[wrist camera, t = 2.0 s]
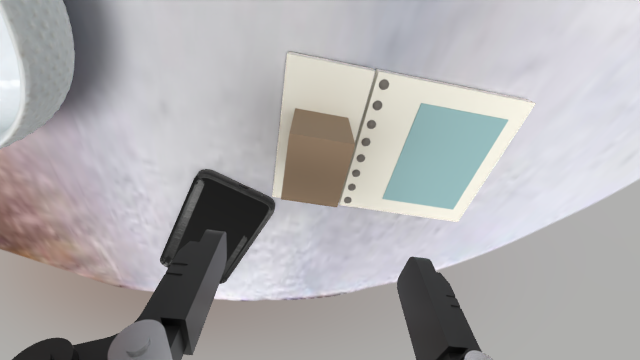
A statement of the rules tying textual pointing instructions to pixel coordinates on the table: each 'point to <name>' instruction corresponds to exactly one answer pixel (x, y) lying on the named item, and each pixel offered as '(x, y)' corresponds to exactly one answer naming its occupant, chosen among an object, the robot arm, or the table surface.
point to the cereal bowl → (33, 65)
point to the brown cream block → (318, 127)
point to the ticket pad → (428, 145)
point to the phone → (219, 217)
